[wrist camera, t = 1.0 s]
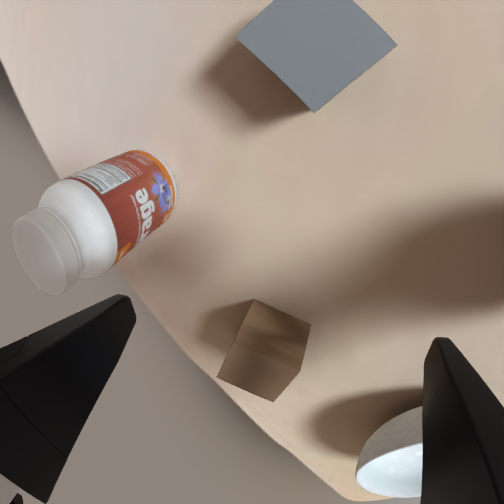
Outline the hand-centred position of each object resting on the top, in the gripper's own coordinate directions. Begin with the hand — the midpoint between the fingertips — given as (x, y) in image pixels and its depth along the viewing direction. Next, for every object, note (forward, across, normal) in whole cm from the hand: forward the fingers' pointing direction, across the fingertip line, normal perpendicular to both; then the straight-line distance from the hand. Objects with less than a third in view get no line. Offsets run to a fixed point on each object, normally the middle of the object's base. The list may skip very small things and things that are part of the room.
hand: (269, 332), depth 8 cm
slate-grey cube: (+13, 0, -8) cm, 15 cm away
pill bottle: (+13, +13, 0) cm, 18 cm away
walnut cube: (+13, +3, +13) cm, 18 cm away
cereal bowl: (+13, -15, +25) cm, 32 cm away
